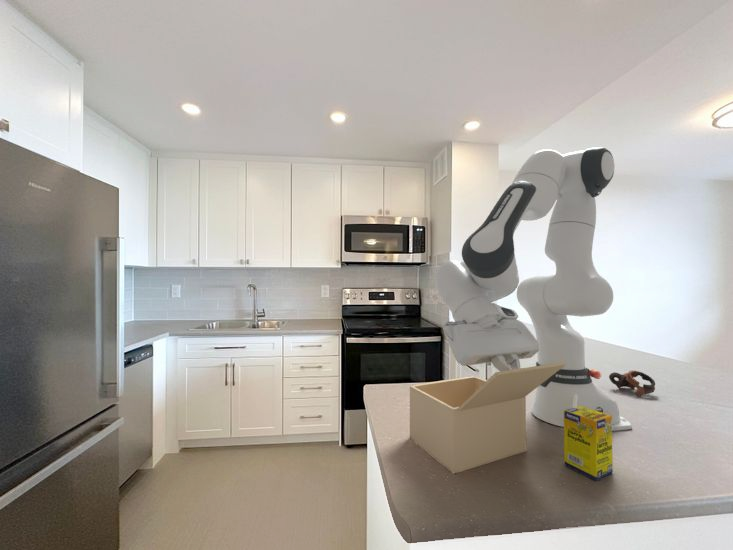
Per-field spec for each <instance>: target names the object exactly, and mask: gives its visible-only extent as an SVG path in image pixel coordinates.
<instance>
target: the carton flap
mask: <svg viewBox="0 0 733 550" xmlns="http://www.w3.org/2000/svg"><path fill="white" fill-rule="evenodd" d="M565 365H566V363H565V362H561V363H554V364H548V365H541V366H536V365H535V366H528V367H520V368H521V369H514V370H507V371H496V372H494V373H493V374H492V375H491V376H490V377H489V378H488V379H487V380H486V382H485V383H484V384H483V385H482V386H481V387H480V388H479V389H478V390H477V391H476V392H475V393H473V394H472V395H471V396H470V397H469V398H468V399H467V400H466V401H465V402H464V403H463V404H462V405H461V406H460V407H459V408H458V410H459V411H462V410H467V409H472V408H477V407H481V406H486V405H491V404H496V403H501V402H505V401H510V400H515V399H520V398H524V397H525V396H526V397H527V396H528V395H529V394H531V393H532V392H533V391H534V390H536V389H537V387H538V386H539V385H541V384H542V383H543V382H545V381H546V380H547V379H548V378H550V377H551V376H552V375H553V374H555V373H556V372H557V371H559V370H560V369H561V368H562V367H564V366H565Z"/></svg>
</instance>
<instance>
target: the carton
mask: <svg viewBox="0 0 733 550" xmlns="http://www.w3.org/2000/svg"><path fill="white" fill-rule="evenodd" d="M486 381H487V380H486V379H483V378H479V377H477V376H471V375H470V376H464V377H463V376H462V377H456V378H450V379H444V380H438V381H430V382H423V383H416V384H412V385H410V386H409V440H411V441H412V442H413V443H415V444H416V445H417V446H419V447H420V448H421V449H422V450H423V451H425V452H426V453H427V454H428V455H430V456H431V457H432V458H434V460H436V461H437V462H438V463H439V464H441V465H442V466H443V467H444V468H445V467H446V468H445V469H447V470H448V471H449V472H450V471H451V472H450V473H452V475H456V474H459V473H461V472H464V471H469V470H472V469H474V468H477V467H481V466H483V465H487V464H490V463H493V462H496V461H500V460H503V459H506V458H509V457H512V456H516V455H518V454H522V453H524V452H527V416H526V415H527V413H526V412H527V409H526V407H527V405H526V404H527V403H526V402H527V401H526V399H527V398H526V397H527V396H525V397H524V398H520V399H515V400H510V401H505V402H501V403H496V404H491V405H486V406H481V407H477V408H472V409H467V410H462V411H459V410H458V408H459V407H460V406H461V405H462V404H463V403H464V402H465V401H466V400H467V399H468V398H469V397H470V396H471V395H472V394H473V393H475V392H476V391H477V390H478V389H479V388H480V387H481V386H482V385H483V384H484V383H485V382H486ZM455 473H456V474H455Z"/></svg>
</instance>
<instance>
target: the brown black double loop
mask: <svg viewBox="0 0 733 550" xmlns="http://www.w3.org/2000/svg"><path fill="white" fill-rule="evenodd" d="M638 376H639V377H641V378H642V380H644V381H647V382H649V383H650V384H644V383H643V385H642V386H641V385H640V381H638V380H636V379H635V378H637V377H638ZM608 378H609V380H610V382H611V383H612V384H613V385H615V386H616V387H617V388H618V389H621V388H626V387H627V388H629V389H631V390H633V389H634V390H635V389H636V391H635V393H634V395H636V396H638V397H639V398H640V397H642V396H644V395H649V394H652V393H654V392H655V390H656V387H655V386H656V382H655V380H654V379H653V378H652V377H651V376H649V375H648V374H646V373H644V372H642V371H639V370H629V371H628V372H625V373H623V374H622V373H619V372H616V371H615V372H614V371H613V372H612V373H610V374H609V375H608ZM615 378H616V379H615ZM617 379H618V380H617Z"/></svg>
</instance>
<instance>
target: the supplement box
mask: <svg viewBox="0 0 733 550" xmlns="http://www.w3.org/2000/svg"><path fill="white" fill-rule="evenodd" d="M563 439H564V440H563V442H564V443H563V445H564V446H563V448H564V449H563V450H564V451H563V452H564V453H563V457H564V459H563V460H564V463H563V464H564V466H565V467H568V468H569V469H572V470H573V471H576V472H577V473H580V474H581V475H584V476H585V477H588V478H589V479H592V480H594V481H599V480H600V479H601V478H604V477H606V476H608V475H611V474H612V473H614V472H613V469H614V467H613V431H612V416H611V415H608V414H605V413H602V412H599V411H595V410H592V409H590V408H587V407H583V406H578V407H576V408H572V409H568V410H564V427H563Z"/></svg>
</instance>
